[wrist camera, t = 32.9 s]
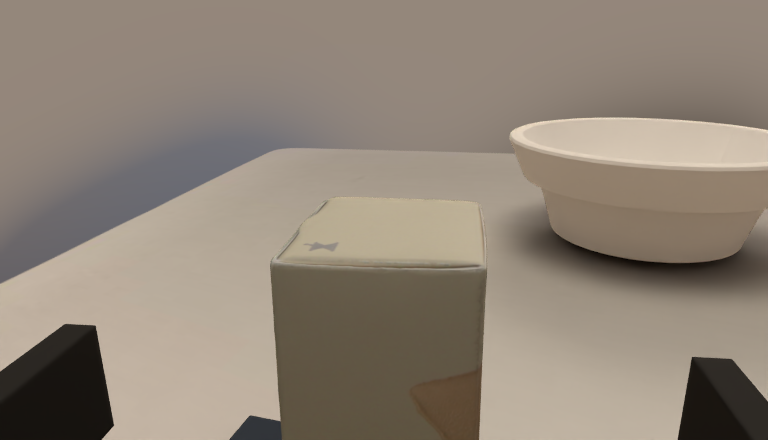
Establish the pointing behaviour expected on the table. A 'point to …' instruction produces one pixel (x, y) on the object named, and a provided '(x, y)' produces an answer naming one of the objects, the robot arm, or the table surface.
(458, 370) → the box
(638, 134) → the bowl
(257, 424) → the desk mat
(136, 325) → the table surface
